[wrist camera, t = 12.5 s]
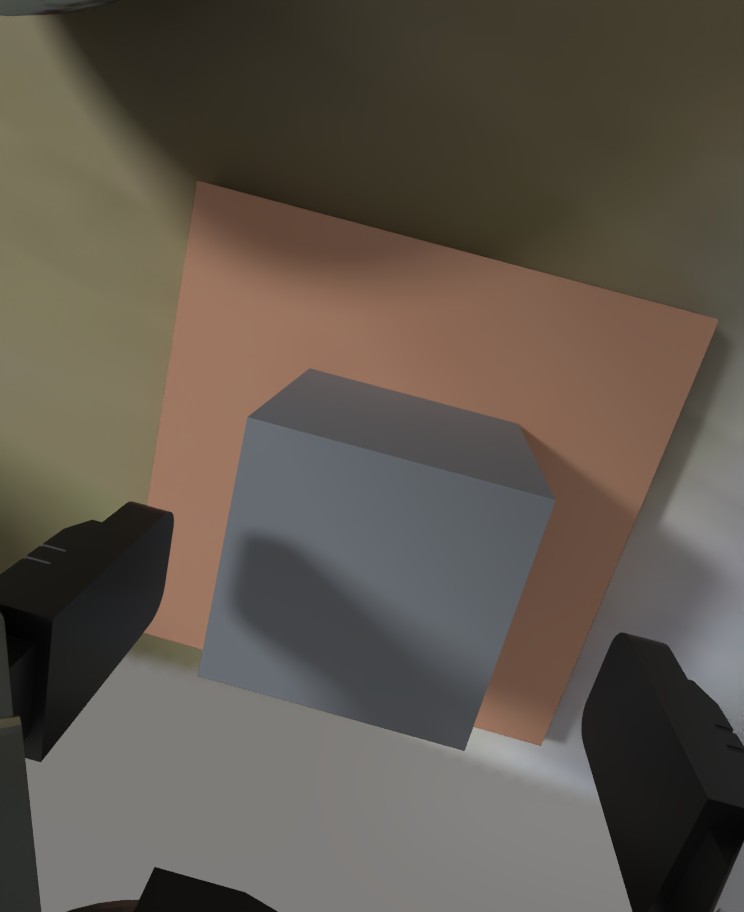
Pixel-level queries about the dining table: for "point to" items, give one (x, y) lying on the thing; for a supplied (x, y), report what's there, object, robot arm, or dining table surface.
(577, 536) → the terracotta tile
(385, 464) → the slate cube
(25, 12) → the bowl
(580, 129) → the dining table surface
